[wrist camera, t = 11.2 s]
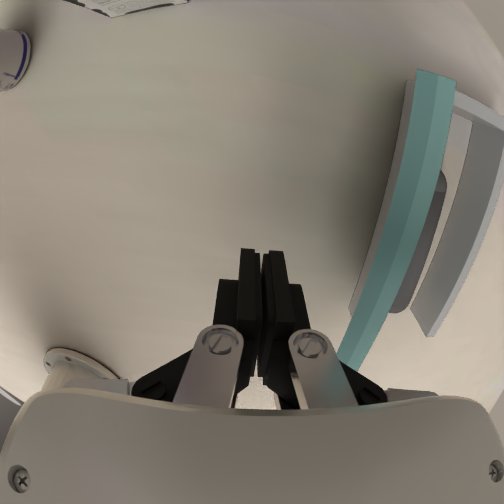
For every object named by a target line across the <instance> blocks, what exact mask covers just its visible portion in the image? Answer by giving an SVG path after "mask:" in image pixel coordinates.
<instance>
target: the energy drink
mask: <svg viewBox="0 0 504 504" xmlns="http://www.w3.org/2000/svg"><path fill="white" fill-rule="evenodd" d="M30 53H31V46H30V40H29V38H28V36H27V34H26V33H25V32H23V31H20V30H2V29H0V92H2V91H7V90H9V89H11V88H12V87H14V86H15V85H16V84H17V83H18V81H19V80H20V79H21V77H22V76H23V74H24V72H25V70H26V68H27V66H28V63H29V59H30Z"/></svg>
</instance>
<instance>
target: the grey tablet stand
mask: <svg viewBox="0 0 504 504" xmlns="http://www.w3.org/2000/svg"><path fill="white" fill-rule="evenodd" d="M415 82H416V81H406V87H405V95H404V102H403V108H402V114H401V120H400V126H399V131H398V137H397V142H396V147H395V151H394V156H393V161H392V165H391V170H390V174H389V178H388V182H387V187H386V191H385V194H384V198H383V202H382V206H381V210H380V213H379V217H378V220H377V224H376V227H375V231H374V234H373V237H372V241H371V244H370V247H369V250H368V253H367V256H366V260H365V263H364V266H363V269H362V272H361V274H360V277H359V280H358V283H357V286H356V289H355V291H354V294H353V297H352V300H351V302H350V305H349V308H348V309H349V312H350V314H351V317H353V314H354V312H355V309H356V307H357V304H358V302H359V299H360V296H361V294H362V291H363V288H364V286H365V283H366V280H367V278H368V275H369V272H370V269H371V266H372V263H373V261H374V258H375V255H376V252H377V249H378V245H379V242H380V239H381V236H382V233H383V230H384V226H385V223H386V220H387V216H388V213H389V209H390V205H391V202H392V198H393V194H394V191H395V187H396V183H397V179H398V175H399V170H400V166H401V162H402V157H403V153H404V148H405V143H406V138H407V133H408V127H409V122H410V116H411V110H412V104H413V97H414V90H415ZM452 112H454V113H456V114H458V115H460V116H462V117H465V118H467V119H469V120H471V121H473V126H472V131H471V137H470V141H469V146H468V151H467V155H466V159H465V164H464V168H463V171H462V175H461V179H460V183H459V186H458V190H457V193H456V196H455V200H454V203H453V206H452V209H451V212H450V215H449V218H448V221H447V224H446V227H445V229H444V232H443V235H442V238H441V240H440V243H439V245H438V248H437V250H436V253H435V255H434V258H433V260H432V263H431V265H430V267H429V270H428V272H427V274H426V277H425V279H424V281H423V283H422V285H421V288H420V290H419V292H418V294H417V296H416V298H415V300H414V302H413V304H412V306H411V308H410V309H411V311H412V312H413V314H414V316H415V318H416V320H417V321H418V323H419V325H420V327H421V329H422V331H423V332H424V334H425V336H426V337H434V336H435V334H436V332H437V331H438V329H439V327H440V326H441V324H442V322H443V321H444V319H445V317H446V316H447V314H448V312H449V310H450V309H451V307H452V305H453V303H454V301H455V299H456V298H457V296H458V294H459V292H460V290H461V288H462V286H463V284H464V282H465V280H466V278H467V276H468V274H469V272H470V269H471V267H472V265H473V263H474V261H475V259H476V256H477V254H478V252H479V249H480V247H481V244H482V242H483V240H484V237H485V235H486V232H487V229H488V227H489V224H490V221H491V218H492V216H493V213H494V210H495V207H496V204H497V201H498V198H499V194H500V191H501V188H502V184H503V181H504V117H503V116H502V115H500V114H499V113H497V112H495V111H494V110H492V109H490V108H489V107H487V106H485V105H483V104H482V103H480V102H478V101H476V100H474V99H472V98H471V97H469V96H467V95H465V94H463V93H461V92H459V91H457V90H455V96H454V103H453V110H452Z"/></svg>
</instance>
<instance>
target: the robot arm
mask: <svg viewBox="0 0 504 504" xmlns="http://www.w3.org/2000/svg"><path fill="white" fill-rule="evenodd" d="M256 359H257V370H258V377H263V385H267V387H268V388H270V389H271V390H272V391H273V392H274V400H275V405H276V409H277V410H260V409H236V408H235V407H236V402H237V398H238V393H239V392H240V391H242V390H243V389H244V388H246V387H247V386H248V385H249V380H250V377H253V376H254V371H255V365H256ZM44 366H45V368H46V371H47V372H48V374H49V375H48V377H47V379H46V381H45V383H44V385H43V387H42V389H41V391H40V392H38V393H36V394H34V395H32V396H31V397H30V398H29V399H28V400H27V401H26V402H25V403H24V404H23V406H22V407H21V409H20V411H19V412H18V414H17V416H16V417H15V419H14V421H13V424H12V426H11V428H10V430H9V433H8V435H7V437H6V440H5V443H4V446H3V448H2V451H1V454H0V504H504V448H503V445H502V442H501V440H500V437H499V434H498V432H497V430H496V428H495V425H494V423H493V421H492V420H491V418H490V416H489V414H488V412H487V411H486V410H485V408H484V407H483V406H482V405H481V404H480V403H478V402H477V401H474V400H472V399H469V398H464V397H459V396H446V395H442V396H439V395H437V394H436V393H434V392H430V391H417V390H403V389H392V388H388V389H387V390H386V391H384V390H383V389H382V388H381V387H379V386H378V385H377V384H375V383H374V382H372V381H371V380H369V379H367V378H366V377H364V376H363V375H361V374H360V373H358V372H356V371H355V370H353V369H352V368H350V367H349V366H347V365H346V364H344V363H343V362H341V361H340V360H339V359H338V357H337V355H336V352H335V350H334V348H333V346H332V343H331V342H330V340H329V339H328V337H326V336H325V335H324V334H323V333H321V332H319V331H316V330H312V329H311V328H310V323H309V318H308V314H307V309H306V304H305V300H304V295H303V291H302V287H301V285H300V284H289V281H288V276H287V270H286V264H285V259H284V253H283V251H272V250H269V254H264V255H263V262H262V269H261V268H260V253H255V249H245V248H241V255H240V267H239V279H238V280H228V279H219V284H218V291H217V298H216V305H215V312H214V319H213V325H211V326H209V327H206V328H205V329H203V330H202V331H201V332H200V334H199V335H198V337H197V340H196V342H195V345H194V347H193V349H192V350H190V351H188V352H186V353H185V354H183V355H181V356H179V357H178V358H176V359H174V360H172V361H170V362H169V363H167V364H165V365H163V366H161V367H160V368H158V369H156V370H154V371H152V372H150V373H149V374H147V375H145V376H143V377H141V378H140V379H139V380H137V381H136V382H129V381H128V379H118V378H117V377H116V376H115V375H114V374H113V373H112V372H110V371H109V370H108V369H107V368H105V367H104V366H102V365H101V364H100V363H98V362H96V361H94V360H93V359H91V358H89V357H87V356H85V355H83V354H80V353H78V352H75V351H72V350H68V349H63V348H54V349H51V350H49V351H48V352H47V354H46V356H45V357H44Z"/></svg>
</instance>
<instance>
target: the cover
mask: <svg viewBox="0 0 504 504" xmlns="http://www.w3.org/2000/svg"><path fill="white" fill-rule="evenodd" d="M455 88H456V81H455V80H452V79H449V78H446V77H443V76H440V75H437V74H434V73H430V72H427V71H423V70H420V69H417V74H416V82H415V90H414V97H413V104H412V110H411V116H410V122H409V127H408V133H407V138H406V143H405V148H404V153H403V157H402V162H401V166H400V170H399V175H398V179H397V183H396V187H395V191H394V194H393V198H392V202H391V205H390V209H389V213H388V216H387V220H386V223H385V226H384V230H383V233H382V236H381V239H380V242H379V245H378V249H377V252H376V255H375V258H374V261H373V263H372V266H371V269H370V272H369V275H368V278H367V280H366V283H365V286H364V288H363V291H362V294H361V296H360V299H359V302H358V304H357V307H356V309H355V312H354V314H353V317H352V319H351V321H350V324H349V326H348V329H347V331H346V333H345V336H344V338H343V340H342V342H341V345H340V347H339V349H338V351H337V354H336V355H337V357H338V359H339V360H340V361H341V362H343V363H344V364H346V365H347V366H349V367H350V368H352V369H353V370H355V371H356V372H357V371H358V369H359V367H360V366H361V364H362V362H363V360H364V359H365V357H366V355H367V353H368V351H369V350H370V348H371V346H372V344H373V342H374V340H375V338H376V336H377V334H378V332H379V331H380V329H381V327H382V325H383V323H384V321H385V318H386V316H387V314H388V312H389V310H390V308H391V306H392V304H393V302H394V299H395V297H396V295H397V293H398V290H399V288H400V286H401V283H402V281H403V279H404V276H405V274H406V272H407V269H408V267H409V264H410V262H411V259H412V256H413V254H414V251H415V249H416V246H417V243H418V240H419V238H420V235H421V232H422V229H423V226H424V223H425V220H426V217H427V214H428V211H429V208H430V204H431V201H432V198H433V194H434V191H435V187H436V184H437V180H438V176H439V172H440V169H441V164H442V160H443V156H444V152H445V147H446V142H447V138H448V133H449V127H450V122H451V116H452V110H453V103H454V96H455Z"/></svg>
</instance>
